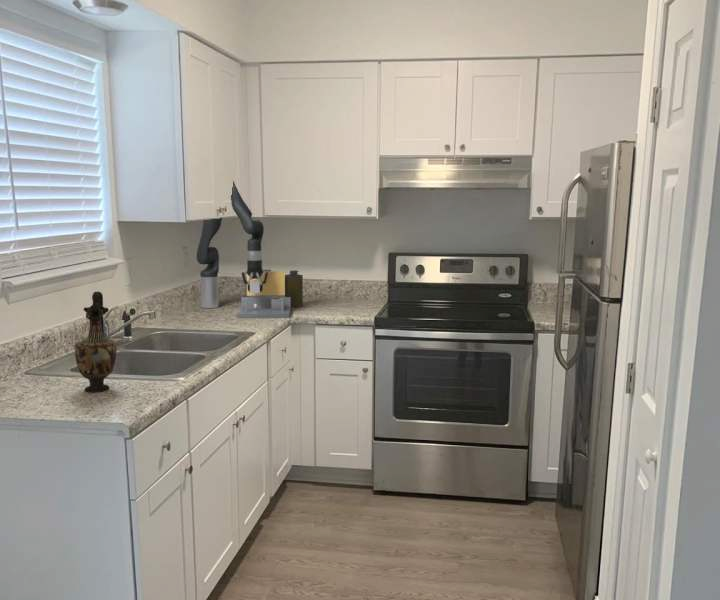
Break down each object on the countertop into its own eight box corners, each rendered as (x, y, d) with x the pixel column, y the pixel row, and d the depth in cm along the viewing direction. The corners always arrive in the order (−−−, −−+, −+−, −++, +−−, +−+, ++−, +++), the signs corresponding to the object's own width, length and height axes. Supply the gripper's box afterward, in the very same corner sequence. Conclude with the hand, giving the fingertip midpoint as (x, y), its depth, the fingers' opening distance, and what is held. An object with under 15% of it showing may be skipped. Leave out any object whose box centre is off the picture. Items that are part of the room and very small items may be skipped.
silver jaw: (251, 291, 320) (250, 280, 319) (260, 291, 320) (260, 280, 319) (250, 293, 315) (249, 281, 314) (259, 293, 315) (259, 281, 314)
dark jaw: (272, 308, 322) (272, 297, 321) (281, 308, 322) (281, 297, 321) (271, 310, 317) (271, 299, 316) (281, 310, 317) (281, 299, 316)
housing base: (241, 311, 325) (241, 295, 324) (290, 311, 327) (290, 295, 326) (237, 318, 306) (236, 301, 304) (289, 317, 308) (288, 301, 306)
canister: (297, 303, 351) (297, 269, 348) (306, 306, 343) (306, 271, 340) (280, 305, 346) (280, 270, 342) (289, 307, 337) (288, 272, 334)
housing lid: (247, 296, 323) (247, 296, 324) (284, 296, 325) (284, 296, 326) (246, 269, 323) (247, 269, 324) (284, 269, 325) (284, 269, 326)
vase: (71, 395, 182) (64, 296, 177) (86, 383, 194) (80, 290, 189) (111, 394, 183) (106, 296, 178) (124, 382, 195) (119, 290, 190)
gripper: (269, 258, 319) (269, 290, 321) (241, 258, 318) (242, 290, 320) (267, 259, 311) (268, 292, 314) (239, 259, 310) (240, 292, 313)
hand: (255, 291), depth 317 cm, fingers closed on silver jaw, 5 cm apart
